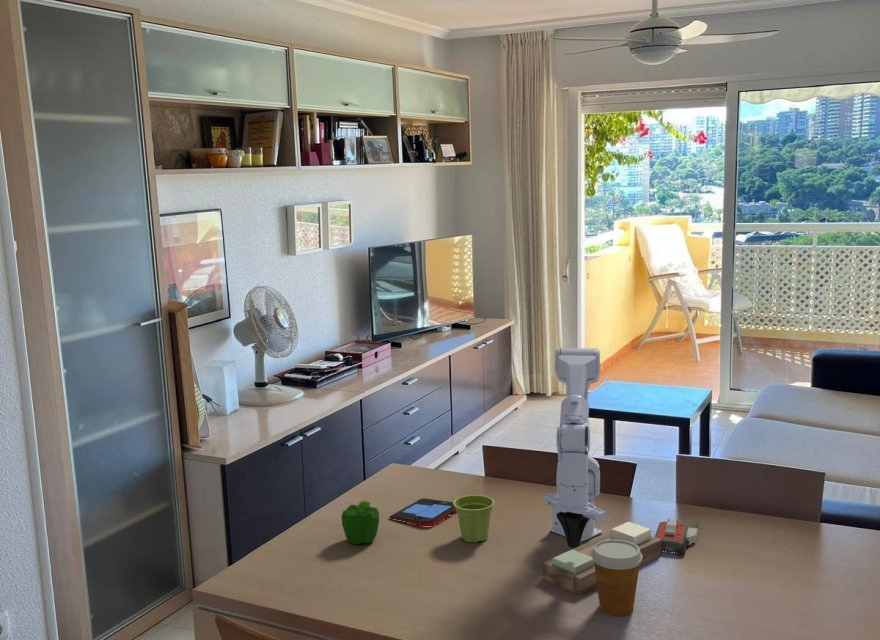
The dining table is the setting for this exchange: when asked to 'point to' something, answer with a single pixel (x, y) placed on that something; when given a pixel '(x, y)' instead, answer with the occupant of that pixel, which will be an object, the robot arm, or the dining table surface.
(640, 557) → the disposable coffee cup
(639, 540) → the cream key
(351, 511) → the bell pepper
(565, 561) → the sage key
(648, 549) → the key base
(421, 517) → the game console
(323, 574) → the dining table surface
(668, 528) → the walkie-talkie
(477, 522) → the plant pot
